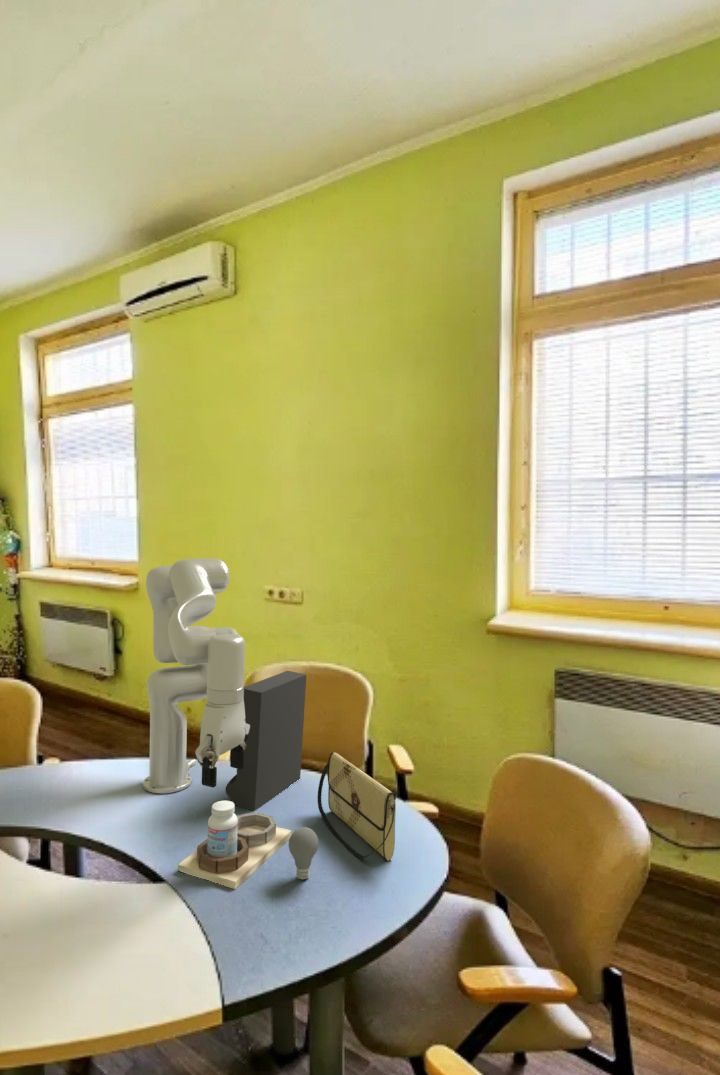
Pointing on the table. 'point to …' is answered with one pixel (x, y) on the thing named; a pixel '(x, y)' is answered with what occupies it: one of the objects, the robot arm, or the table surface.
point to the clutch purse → (359, 805)
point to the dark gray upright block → (270, 739)
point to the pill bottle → (222, 830)
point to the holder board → (239, 852)
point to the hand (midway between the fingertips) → (223, 776)
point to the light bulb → (303, 849)
